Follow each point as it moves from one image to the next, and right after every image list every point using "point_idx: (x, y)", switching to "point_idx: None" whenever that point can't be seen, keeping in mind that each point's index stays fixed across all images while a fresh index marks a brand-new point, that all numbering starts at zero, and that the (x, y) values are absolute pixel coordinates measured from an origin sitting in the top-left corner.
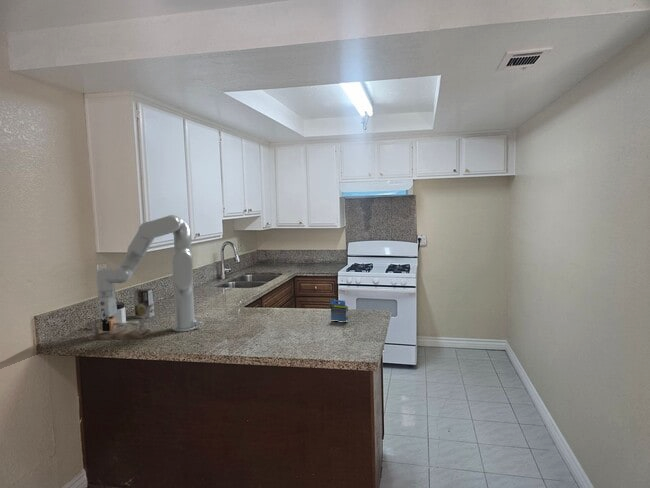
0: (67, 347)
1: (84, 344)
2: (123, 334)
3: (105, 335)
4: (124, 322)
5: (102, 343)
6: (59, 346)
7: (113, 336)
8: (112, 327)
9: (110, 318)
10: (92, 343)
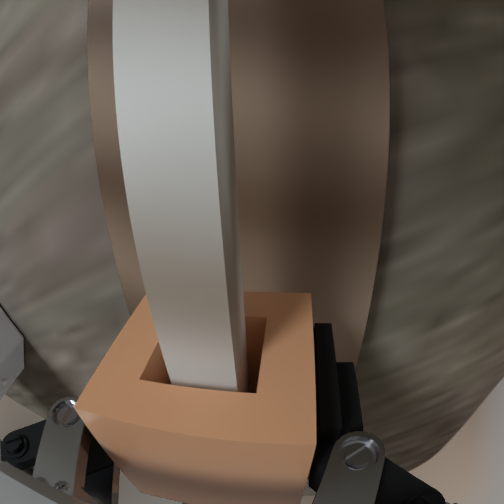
0: (460, 424)
1: (451, 379)
2: (329, 89)
3: (334, 321)
4: (179, 96)
5: (491, 260)
6: (418, 457)
7: (381, 213)
8: (275, 319)
9: (124, 461)
10: (454, 342)
